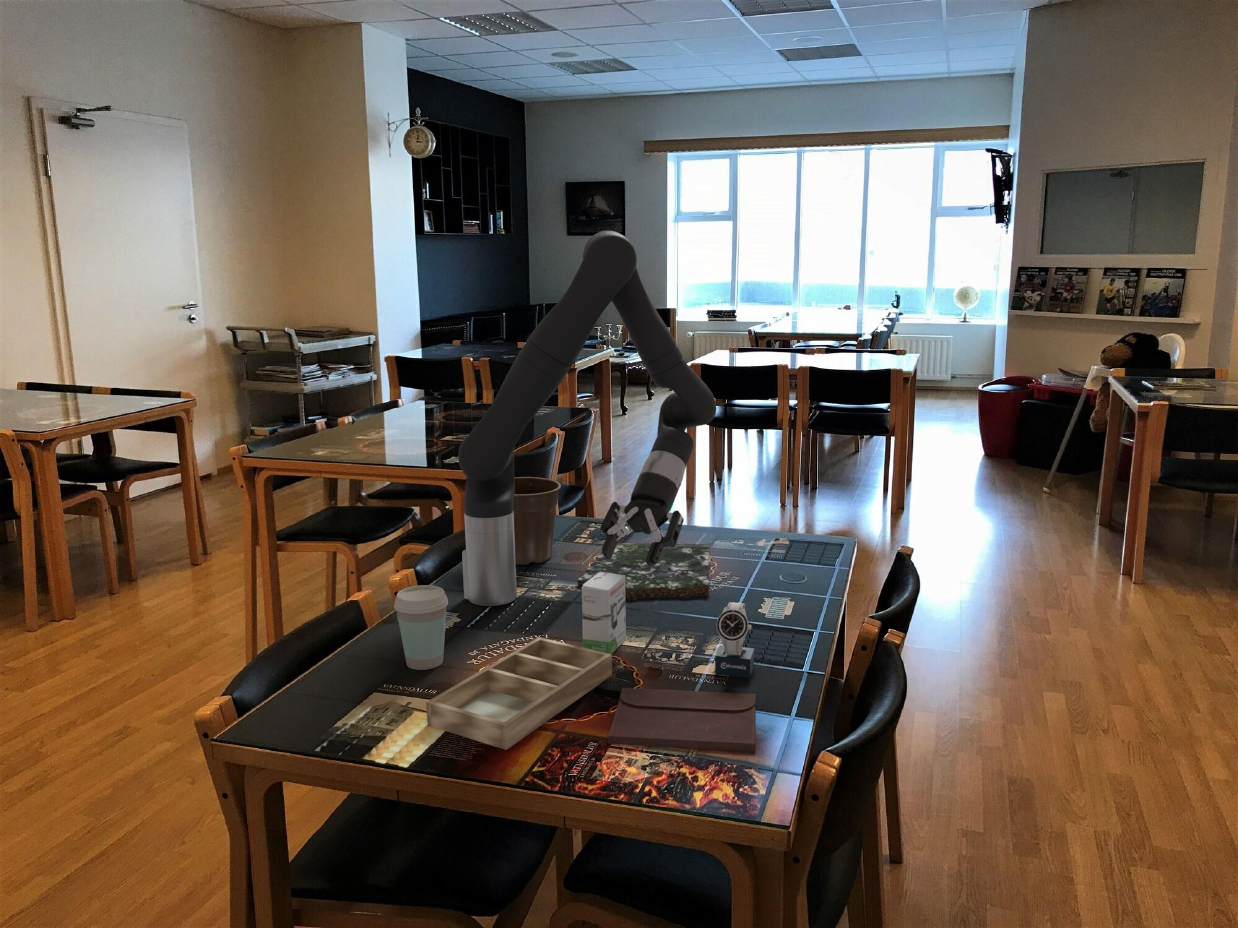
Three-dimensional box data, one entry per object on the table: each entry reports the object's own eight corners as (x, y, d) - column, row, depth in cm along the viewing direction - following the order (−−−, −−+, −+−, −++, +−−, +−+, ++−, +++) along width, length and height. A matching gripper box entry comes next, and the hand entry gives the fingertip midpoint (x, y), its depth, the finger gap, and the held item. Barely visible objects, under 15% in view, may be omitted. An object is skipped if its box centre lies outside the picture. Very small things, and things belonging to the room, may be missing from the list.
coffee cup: (460, 655, 162) (457, 586, 159) (434, 676, 154) (430, 604, 151) (415, 649, 164) (411, 581, 162) (387, 669, 156) (382, 598, 154)
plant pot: (571, 548, 219) (569, 478, 215) (550, 571, 203) (548, 495, 200) (502, 544, 222) (499, 475, 219) (476, 566, 207) (473, 492, 203)
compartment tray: (427, 725, 138) (426, 702, 137) (539, 656, 161) (538, 637, 160) (506, 749, 131) (505, 725, 130) (612, 674, 153) (611, 654, 153)
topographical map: (709, 551, 217) (709, 538, 216) (708, 603, 185) (708, 588, 184) (593, 549, 219) (593, 536, 219) (573, 601, 187) (572, 586, 187)
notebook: (755, 755, 130) (755, 742, 129) (607, 747, 132) (607, 734, 132) (755, 704, 144) (755, 692, 144) (622, 698, 147) (622, 685, 146)
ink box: (609, 658, 160) (608, 589, 157) (581, 654, 161) (579, 586, 159) (627, 638, 168) (626, 573, 165) (600, 635, 169) (599, 570, 167)
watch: (712, 679, 151) (713, 612, 149) (721, 658, 159) (722, 594, 157) (748, 683, 150) (749, 615, 148) (756, 662, 157) (757, 597, 155)
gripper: (617, 466, 176) (584, 544, 169) (687, 474, 169) (656, 556, 162) (632, 488, 182) (600, 564, 175) (701, 497, 174) (671, 577, 167)
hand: (627, 560), depth 168 cm, fingers open, 8 cm apart
